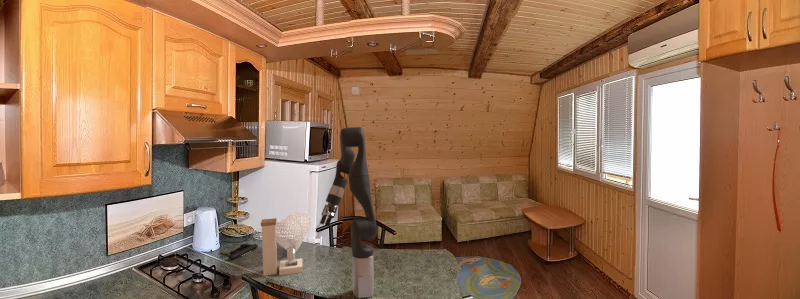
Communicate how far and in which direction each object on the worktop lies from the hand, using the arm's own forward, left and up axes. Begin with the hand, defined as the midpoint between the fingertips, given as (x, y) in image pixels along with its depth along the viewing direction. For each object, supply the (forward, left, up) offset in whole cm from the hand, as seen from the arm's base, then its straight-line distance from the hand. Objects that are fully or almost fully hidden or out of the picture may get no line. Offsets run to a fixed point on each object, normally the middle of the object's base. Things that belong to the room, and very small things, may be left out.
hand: (324, 224), depth 165 cm
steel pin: (+2, +17, -23) cm, 28 cm away
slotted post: (+2, +21, -23) cm, 31 cm away
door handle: (+36, +48, -23) cm, 65 cm away
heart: (+25, +16, -23) cm, 38 cm away
